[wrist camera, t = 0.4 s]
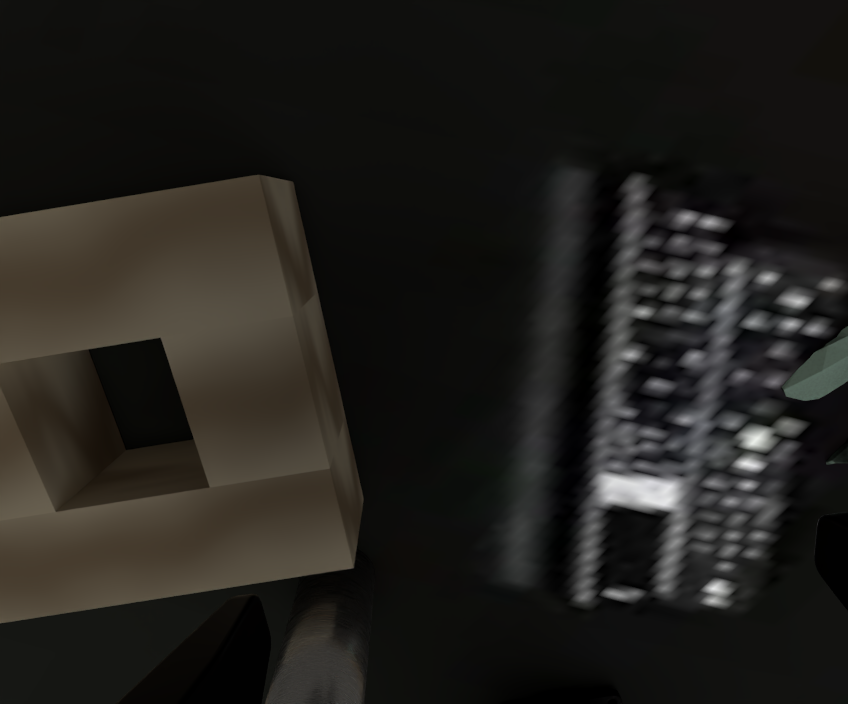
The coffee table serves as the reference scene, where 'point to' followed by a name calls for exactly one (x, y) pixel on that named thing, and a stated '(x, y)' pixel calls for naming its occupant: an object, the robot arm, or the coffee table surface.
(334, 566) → the socket board
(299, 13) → the coffee table surface
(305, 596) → the peg
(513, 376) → the coffee table surface
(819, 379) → the cloth
